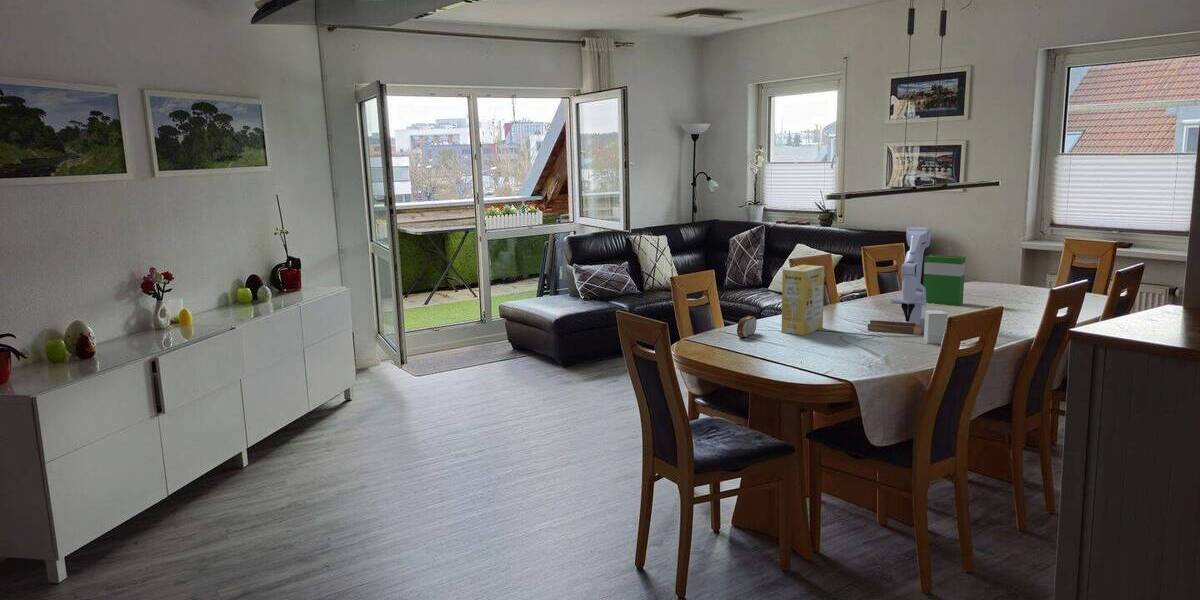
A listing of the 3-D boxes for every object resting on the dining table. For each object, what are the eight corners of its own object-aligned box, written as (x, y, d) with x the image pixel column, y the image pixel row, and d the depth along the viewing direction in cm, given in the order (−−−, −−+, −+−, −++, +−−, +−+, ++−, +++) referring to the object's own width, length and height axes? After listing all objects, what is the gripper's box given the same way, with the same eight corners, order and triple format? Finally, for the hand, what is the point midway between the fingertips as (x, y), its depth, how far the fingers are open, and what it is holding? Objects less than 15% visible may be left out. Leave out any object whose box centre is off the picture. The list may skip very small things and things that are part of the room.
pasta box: (801, 324, 371) (802, 264, 366) (822, 327, 365) (824, 266, 359) (781, 332, 358) (782, 269, 353) (803, 335, 351) (804, 271, 346)
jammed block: (920, 330, 354) (920, 316, 353) (934, 331, 352) (935, 317, 351) (919, 333, 349) (919, 319, 348) (934, 334, 346) (934, 320, 345)
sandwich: (751, 332, 360) (751, 313, 358) (757, 333, 358) (757, 314, 356) (736, 339, 348) (736, 319, 346) (742, 339, 346) (743, 320, 344)
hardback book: (922, 302, 416) (924, 256, 411) (926, 300, 421) (929, 254, 417) (958, 306, 405) (961, 258, 400) (962, 303, 411) (965, 256, 406)
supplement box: (946, 344, 330) (947, 313, 328) (926, 343, 332) (928, 313, 329) (942, 339, 337) (943, 310, 335) (923, 339, 339) (924, 309, 337)
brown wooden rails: (870, 326, 365) (870, 320, 364) (922, 330, 355) (922, 323, 355) (867, 330, 356) (867, 324, 356) (921, 334, 347) (921, 327, 347)
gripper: (890, 291, 350) (888, 321, 353) (926, 292, 344) (924, 323, 346) (891, 288, 356) (890, 318, 359) (927, 289, 350) (925, 320, 353)
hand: (907, 320), depth 353 cm, fingers closed
